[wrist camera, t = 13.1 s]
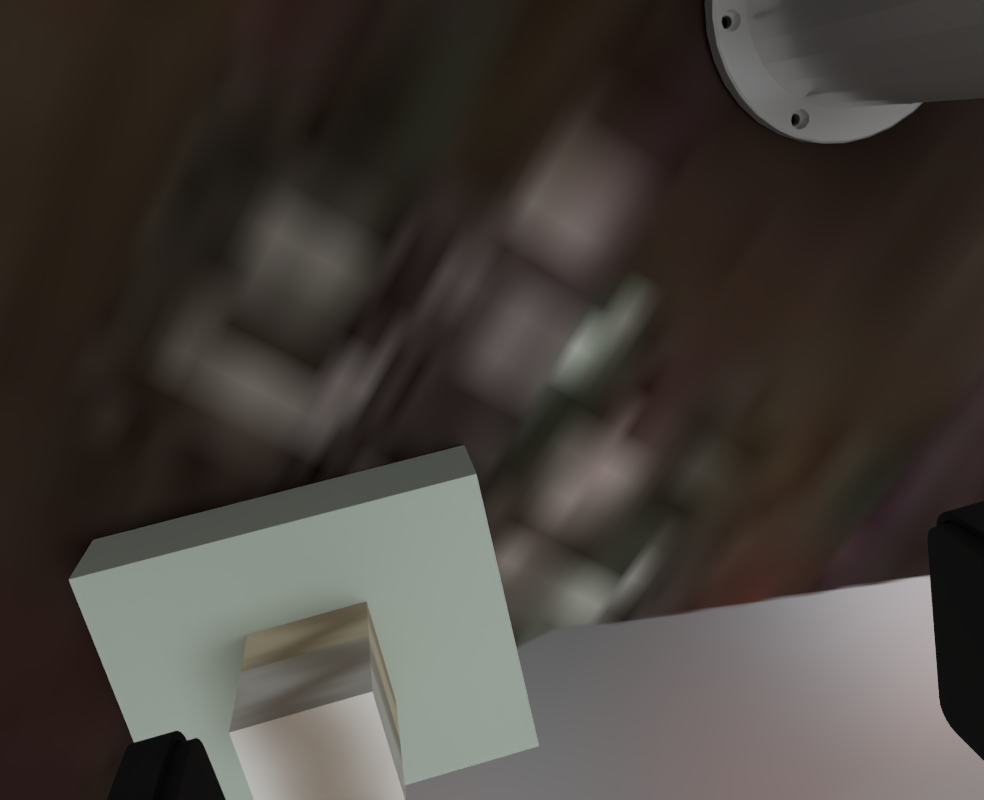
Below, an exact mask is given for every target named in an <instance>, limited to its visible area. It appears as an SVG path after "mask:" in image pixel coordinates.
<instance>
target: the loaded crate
mask: <svg viewBox="0 0 984 800" xmlns="http://www.w3.org/2000/svg"><path fill="white" fill-rule="evenodd" d="M229 734H230V736H231V739H232V742H233V745H234V747H235V750H236V753H237V755H238V758H239V761H240V763H241V766H242V769H243V772H244V774H245V777H246V780H247V782H248V785H249V788H250V791H251V793H252V796H253V799H254V800H406V793H405V783H404V774H403V764H402V754H401V745H400V735H399V726H398V716H397V707H396V699H395V696H394V693H393V689H392V686H391V682H390V679H389V676H388V672H387V669H386V666H385V662H384V659H383V655H382V652H381V649H380V645H379V642H378V638H377V635H376V632H375V628H374V625H373V621H372V618H371V615H370V611H369V608H368V604H367V601H366V602H362V603H359V604H355V605H352V606H348V607H344V608H341V609H337V610H334V611H330V612H326V613H323V614H319V615H316V616H312V617H308V618H305V619H301V620H298V621H294V622H290V623H287V624H283V625H280V626H276V627H272V628H269V629H265V630H262V631H258V632H254V633H251V634H247V638H246V644H245V649H244V655H243V660H242V665H241V671H240V676H239V682H238V687H237V693H236V698H235V703H234V709H233V714H232V720H231V725H230V730H229Z"/></svg>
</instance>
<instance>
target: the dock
mask: <svg viewBox="0 0 984 800" xmlns="http://www.w3.org/2000/svg"><path fill="white" fill-rule="evenodd" d="M69 582H70V584H71V587H72V589H73V592H74V594H75V597H76V599H77V602H78V604H79V607H80V609H81V612H82V614H83V617H84V619H85V622H86V624H87V627H88V629H89V632H90V634H91V637H92V639H93V642H94V644H95V647H96V649H97V652H98V654H99V657H100V659H101V661H102V664H103V666H104V669H105V671H106V674H107V676H108V679H109V681H110V684H111V686H112V689H113V691H114V694H115V696H116V699H117V701H118V704H119V706H120V709H121V711H122V714H123V716H124V719H125V721H126V724H127V726H128V729H129V731H130V734H131V736H132V739H133V741H134V743H135V742H138V741H142V740H145V739H149V738H152V737H156V736H159V735H163V734H166V733H170V732H173V731H180V732H181V733H182V734H183V735H184V736H185V738H186V739H187V740H191V739H194V738H198V739H200V741H201V742H202V743H203V745H204V747H205V750H206V752H207V754H208V757H209V759H210V762H211V764H212V767H213V769H214V772H215V774H216V777H217V779H218V782H219V784H220V787H221V789H222V792H223V794H224V797H225V799H226V800H254V799H253V796H252V793H251V791H250V788H249V785H248V782H247V780H246V777H245V774H244V772H243V769H242V766H241V763H240V761H239V758H238V755H237V753H236V750H235V747H234V745H233V742H232V739H231V736H230V734H229V730H230V725H231V720H232V714H233V709H234V703H235V698H236V693H237V687H238V682H239V676H240V671H241V665H242V660H243V655H244V649H245V644H246V638H247V634H251V633H254V632H258V631H262V630H265V629H269V628H272V627H276V626H280V625H283V624H287V623H290V622H294V621H298V620H301V619H305V618H308V617H312V616H316V615H319V614H323V613H326V612H330V611H334V610H337V609H341V608H344V607H348V606H352V605H355V604H359V603H362V602H366V601H367V604H368V608H369V611H370V615H371V618H372V621H373V625H374V628H375V632H376V635H377V638H378V642H379V645H380V649H381V652H382V655H383V659H384V662H385V666H386V669H387V672H388V676H389V679H390V682H391V686H392V689H393V693H394V696H395V699H396V707H397V716H398V726H399V735H400V745H401V754H402V764H403V774H404V783H405V785H408V784H411V783H415V782H418V781H421V780H425V779H428V778H432V777H435V776H438V775H442V774H445V773H449V772H452V771H456V770H459V769H462V768H466V767H469V766H473V765H476V764H479V763H483V762H486V761H490V760H493V759H497V758H500V757H503V756H507V755H510V754H514V753H517V752H520V751H524V750H527V749H530V748H534V747H538V746H539V744H538V740H537V735H536V731H535V727H534V722H533V718H532V713H531V709H530V705H529V701H528V696H527V692H526V687H525V683H524V679H523V674H522V670H521V666H520V661H519V657H518V653H517V648H516V644H515V640H514V635H513V631H512V626H511V622H510V618H509V613H508V609H507V605H506V600H505V596H504V592H503V587H502V583H501V579H500V574H499V570H498V566H497V561H496V557H495V553H494V548H493V544H492V539H491V535H490V531H489V526H488V522H487V518H486V513H485V509H484V505H483V500H482V496H481V492H480V487H479V483H478V479H477V474H476V472H475V469H474V467H473V465H472V462H471V460H470V457H469V455H468V453H467V450H466V448H465V446H464V445H462V446H458V447H454V448H450V449H446V450H443V451H439V452H435V453H431V454H427V455H423V456H419V457H415V458H411V459H407V460H403V461H400V462H396V463H392V464H388V465H384V466H380V467H376V468H372V469H368V470H364V471H360V472H356V473H353V474H349V475H345V476H341V477H337V478H333V479H329V480H325V481H321V482H317V483H313V484H310V485H306V486H302V487H298V488H294V489H290V490H286V491H282V492H278V493H274V494H270V495H267V496H263V497H259V498H255V499H251V500H247V501H243V502H239V503H235V504H231V505H227V506H223V507H220V508H216V509H212V510H208V511H204V512H200V513H196V514H192V515H188V516H184V517H180V518H177V519H173V520H169V521H165V522H161V523H157V524H153V525H149V526H145V527H141V528H137V529H133V530H130V531H126V532H122V533H118V534H114V535H110V536H106V537H102V538H98V539H94V540H93V541H92V543H91V544H90V546H89V547H88V549H87V551H86V552H85V554H84V555H83V557H82V559H81V560H80V562H79V564H78V565H77V567H76V568H75V570H74V572H73V573H72V575H71V577H70V578H69Z"/></svg>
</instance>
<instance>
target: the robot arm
mask: <svg viewBox="0 0 984 800" xmlns="http://www.w3.org/2000/svg"><path fill="white" fill-rule="evenodd" d="M705 17H706V30H707V37H708V40H709V44H710V48H711V52H712V56H713V60H714V63H715V65H716V67H717V69H718V71H719V73H720V76H721V78H722V80H723V82H724V84H725V86H726V87H727V89H728V90H729V92H730V93H731V94H732V96H733V97H734V98H735V100H736V101H737V103H738V104H739V105H740V107H742V108H743V109H744V110H745V111H746V112H747V113H748V114H749V115H750V116H751V117H752V118H754V119H755V120H756V121H757V122H758V123H760V124H761V125H763V126H765V127H766V128H768V129H770V130H772V131H773V132H775V133H777V134H778V135H781V136H785V137H788V138H791V139H794V140H797V141H800V142H809V143H821V144H831V143H847V142H852V141H856V140H860V139H865V138H869V137H871V136H873V135H876V134H878V133H880V132H882V131H885V130H887V129H889V128H891V127H893V126H894V125H896V124H897V123H899V122H900V121H902V120H903V119H904V118H906V117H907V116H909V115H910V114H912V113H913V112H914V111H915V110H916V109H917V108H918V107H919V106H920V105H921V104H922V103H923V102H934V101H948V100H962V99H976V98H984V0H705ZM722 17H724V18H725V19H726V20H727V22H728V23H727V27H726V28H725V29H724V28H723V25H722ZM792 115H794V117H795V122H794V124H793V125H792V123H791V118H792ZM928 553H929V566H930V580H931V593H932V606H933V620H934V633H935V646H936V658H937V659H936V660H937V673H938V687H939V699H940V705H941V708H942V711H943V713H944V716H945V718H946V720H947V721H948V723H949V724H950V726H951V727H952V728H953V730H954V731H955V732H956V733H957V734H958V735H959V736H960V737H961V738H962V739H963V740H964V741H965V742H966V743H967V744H968V745H969V746H970V747H971V748H972V749H973V750H974V751H975V752H976V753H977V754H978V755H979V756H980V757H981V758H982V759H983V760H984V501H982V502H978V503H975V504H971V505H968V506H964V507H961V508H957V509H954V510H950V511H947V512H943V513H942V514H941V515H940V516H939V517H938V520H937V527H933V528H932V529H930V530H929V533H928ZM107 800H226V799H225V797H224V794H223V792H222V789H221V787H220V784H219V782H218V779H217V777H216V774H215V772H214V769H213V767H212V764H211V762H210V759H209V757H208V754H207V752H206V750H205V747H204V745H203V743H202V742H201V741H200V739H198V738H194V739H191V740H187V739H186V738H185V736H184V735H183V734H182V733H181V732H180V731H173V732H170V733H166V734H163V735H159V736H156V737H152V738H149V739H145V740H142V741H138V742H135V743H132V744H130V745H129V746H128V747H127V749H126V751H125V753H124V756H123V758H122V761H121V764H120V766H119V769H118V772H117V774H116V777H115V780H114V783H113V785H112V788H111V791H110V793H109V796H108V799H107Z"/></svg>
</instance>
